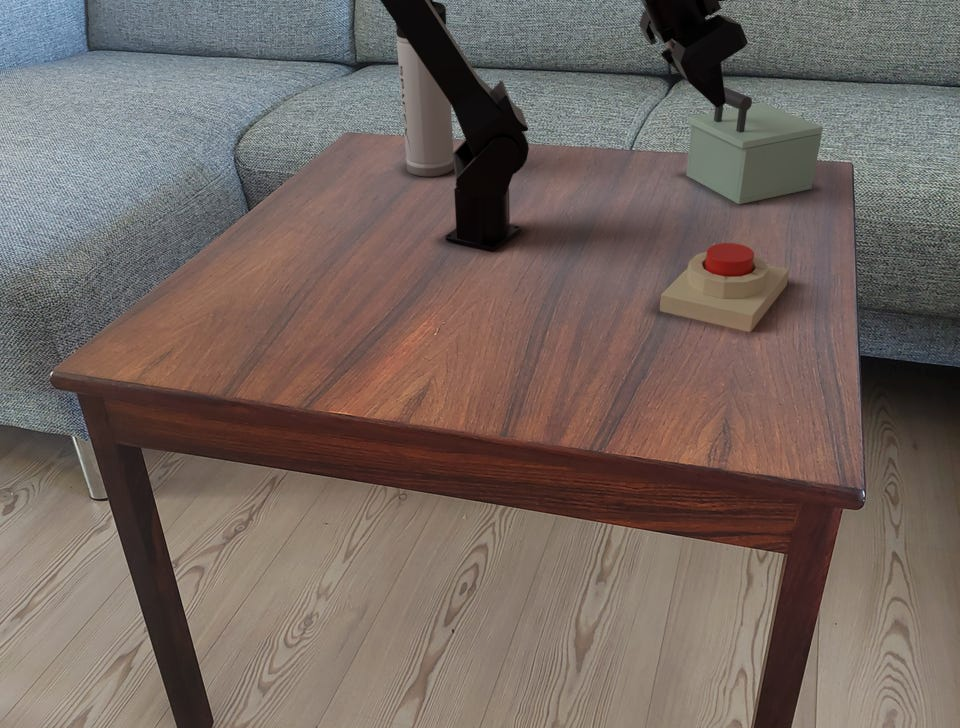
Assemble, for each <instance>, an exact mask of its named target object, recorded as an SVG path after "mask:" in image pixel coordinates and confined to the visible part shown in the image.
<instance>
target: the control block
mask: <svg viewBox="0 0 960 728" xmlns="http://www.w3.org/2000/svg"><path fill="white" fill-rule="evenodd" d="M706 254H707V251H702V252H700V253H697V254H695V255H694V256H693V257H692V258H691V259H690V261H689V262H688V266H687V268H685V270H683V272H682V273H680V275H679V276H678V277H676V279H674V281H673V282H672V283H671V284H670V285H668V287H667V288H666V289H665V290H664V291H663V292H662V293H661V294H660V301H659V302H660V303H659V312H662V313H667V314H670V315H674V316H675V315H676V316H679V317H684V318H688V319H691V320H692V319H693V320H695V321H696V320H697V321H701V322H705V323H708V324H709V323H710V324H713V325H717V326H722V327H725V328H730V329H734V330H737V331H738V330H739V331H742V332H743V331H744V332H748V333H751V332H752V331H753V330H754V328H755V327H756V326H757V324H758V323H759V322H760V321H761V320H762V318H763V317H764V315H765V314H766V313H767V311H768V310H769V309H770V307H771V306H772V305H773V303H774V302H775V301H776V300H777V298H778V297H779V296H780V295H781V293H783V291H784V289H785V288H786V287H787V284H788V280H789V273H790V269H789V268H785V267H779V266H775V265H770V264H767V262H766V261H765V259H763V258H761V257H759V256H757V255H755V254H754V259H753V266H752V271H751V273H750V274H747V275H744V276H740V277H725V276H720V275H715V274H712V273H710V272H709V271H707V270H705V262H706Z"/></svg>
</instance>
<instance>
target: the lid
mask: <svg viewBox="0 0 960 728" xmlns="http://www.w3.org/2000/svg"><path fill="white" fill-rule="evenodd" d="M724 91H725V98H726V102H725V104H726V105H728V106H730V107H732V108H729V109H724V106H725V104H723V105H722V106H720V107H718V108H716V107H715V106H714V111H713V112H707V113H701V114H694V115H690V116H688V117H687V124H688V125H690V126H691V125H693V126H695V127H697V128H699V129H702V130H704V131H706V132H708V133H710V134H712V135H714V136H716V137H718V138H721V139H723V140H725V141H727V142H729V143H731V144H733V145H735V146H737V147H740V148H742V149H744V148H749V147H755V146H760V145H765V144H770V143H775V142H780V141H786V140H791V139H796V138H801V137H806V136H811V135H817V134H822V133H823V129H824V126H822V125H819V124H817V123H814V122H812V121H809V120H806V119H804V118H801V117H800V116H797V115H794V114H791V113H790V112H786V111H784V110H782V109H779V108H777V107H776V106H775V107H774V106H772V105H769V104H767V103H764V102H763V103H757V104H753V99H752V98H751V97H750V96H748V95H745V94H743V93H741V92H739V91H736V90H734V89H731V88H728V87H725V86H724ZM752 104H753V105H752Z"/></svg>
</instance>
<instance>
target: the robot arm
mask: <svg viewBox="0 0 960 728" xmlns="http://www.w3.org/2000/svg"><path fill="white" fill-rule="evenodd" d="M379 1H380V2H381V4H382V5H383V7H384V9H386V11H387V13H388V14H389V15H390V17H391V18H392V20H393V21H394V23H395V25H396V24H397V26H398V27H399V29H400V30H401V32H402V33H403V34H404V36H405V37H406V39H407V40H408V42H409V43H410V45H411V46H412V48H413V49H414V51H415V52H416V54H417V55H418V57H419V58H420V59H421V61H422V62H423V64H424V65H425V67H426V68H427V70H428V71H429V73H430V74H431V76H432V77H433V79H434V80H435V82H436V83H437V84H438V86H439V87H440V89H441V90H442V92H443V93H444V95H445V96H446V98H447V99H448V101H449V102H450V104H451V108H452V109H453V112H454V114H455V117H456V119H457V121H458V124H459V126H460V129H461V132H462V134H463V136H464V137H463V138H464V139H465V140H464V141H462V143H461V144H460V145H459V146H458V147H457V148H456V149H455V150H454V151H453V161H454V168H453V169H454V176H455V188H454V189H453V192H454V193H453V194H454V209H455V210H454V211H455V213H454V215H455V229H453V230H451V231H450V232H448V233H447V234H446V235H445V236H444V237H445V241H446V242H450V243H454V244H459V245H464V246H469V247H474V248H476V249H477V248H478V249H481V250H486V251H495V250H497V249H498V248H500V247H501V246H503V245H504V244H505V243H507V242H508V241H510V240H511V239H512V238H514V237H516V236H517V235H518V234H519V233H521V232H522V226H520V225H516V224H511V223H510V222H511V221H510V219H511V215H510V213H511V212H510V184H511V181H512V179H513V176H514V175H515V174H517V173H518V172H519V171H520V170H522V168H523V167H524V165H525V164H526V162H527V160H528V156H529V155H528V154H529V151H530V147H529V141H528V139H527V136H526V133H525V132H527V131H529V127H528V124H527V121H526V118H525V116H524V113H523V110H522V109H521V108H520V107H518V106H517V105H516V104H515V103H514V102H513V101H512V99H511V97H510V95H509V92H508V90H507V88H506V85H505V83H504V81H503V80H500V81H499V82H498V83H497V84H496V85H495V86H494V87H493V88H492V87H491V86H489V84H487V83H486V82H485V81H484V80H483V79H482V78H481V77H480V76H479V75H478V74H477V72H476V70H475V68H474V67H473V65H472V64H471V63H470V61H469V59H468V58H467V57H466V55H465V54H464V52H463V50H462V49H461V47H460V46H459V44H458V43H457V41H456V40H455V38H454V36H453V35H452V33H451V32H450V30H449V29H448V28H447V25H446V26H445V24H444V23H443V21H442V20H441V18H440V17H439V15H438V14H437V12H436V10H435V9H434V7H433V6H432V4H431V3H430V1H429V0H379ZM726 1H727V0H640V2H641V3H642V6H643V8H644V11H642V14H641V17H640V21H639V23H638V26H639V28H640V30H641V32H642V34H643V37H644V39H645V41H646V42H647V43H648V44H650V45H651V46H653V45H654V44H656V43H657V39H656V37H657V38H658V39H659V40H660V41H661V42H662V43H663V44H665V47H666V49H664V50H663V51H662V52H661V53H660V56H661V57H662V59H663V60H665V62H667V64H668V65H670V67H672V68H673V69H674V70H675V72H677V73H678V74H679V75H680V76H681V77H683V79H685V80H686V82H688V83H689V84H690V85H691V86H692V87H693V88H694V89H695V90H697V91H698V92H699V93H700V94H701V95H702V96H703V97H704V98H705V99H706V100H707V101H709V103H711V104H712V105H713V106H714V108H715V107H716V108H718V107H720V106H722V105H723V104H724V105H725V102H726V98H725V91H724V87H725V84H724V76H723V68H722V62H724V61H725V60H727V59H729V58H730V57H732V56H734V55H735V54H737V53H738V52H740V51H741V50H743V49H744V48H745V47H747V45H748V44H749V42H748V39H747V37H746V36H747V35H746V34H745V32H744V29H743V27H742V24H740V23H739V22H738V21H737V20H735V19H733V18H732V17H730V16H725V15H721V14H716V13H717V12H718V11H720V10H722V7H721V4H720V2H726ZM714 14H716V15H714ZM713 15H714V16H713ZM709 16H710V17H709ZM707 17H708V18H707ZM724 105H723V106H724Z"/></svg>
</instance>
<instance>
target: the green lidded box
mask: <svg viewBox="0 0 960 728" xmlns="http://www.w3.org/2000/svg"><path fill="white" fill-rule="evenodd" d="M689 133H690V134H689V145H688V153H687V163H686V174H685V176H687V177H688V178H689V179H692V180H694V181H695V182H697V183H699V184H701V185H703V186H704V187H707V188H708V189H710V190H712V191H714V192H716V193H717V194H719V195H721V196H723V197H725V198H726V199H728V200H730V201H732V202H733V203H736V204H737V205H742V204H743V205H744V204H747V203H752V202H753V203H754V202H758V201H762V200H767V199H772V198H775V197H781V196H786V195H790V194H795V193H799V192H804V191H809V190H812V189H813V184H814V179H815V172H816V168H817V163H818V157H819V153H820V146H821V141H822V135H823V134H822V133H821V134H817V135H811V136H806V137H801V138H796V139H791V140H786V141H780V142H775V143H770V144H765V145H760V146H755V147H749V148H744V149H742V148H740V147H737V146H735V145H733V144H731V143H729V142H727V141H725V140H723V139H721V138H718V137H716V136H714V135H712V134H710V133H708V132H706V131H704V130H702V129H699V128H697V127H695V126H693V125H691V124H690V132H689Z"/></svg>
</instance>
